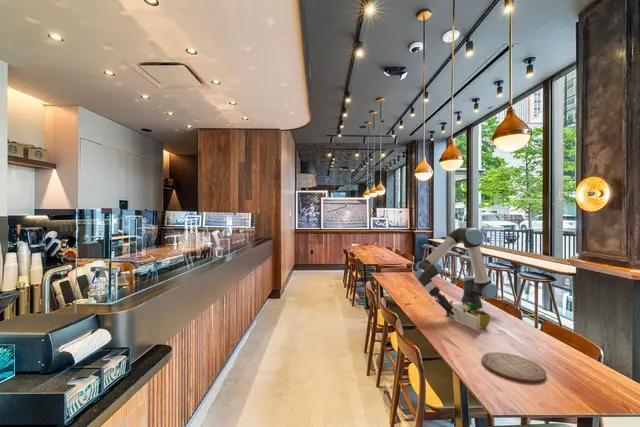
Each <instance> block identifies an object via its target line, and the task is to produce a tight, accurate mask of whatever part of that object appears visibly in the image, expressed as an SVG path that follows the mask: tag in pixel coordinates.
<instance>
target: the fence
mask: <svg viewBox="0 0 640 427" xmlns="http://www.w3.org/2000/svg"><path fill="white" fill-rule="evenodd" d="M449 302H450V304H451V306H452V307H453V302H454V301H453V300H449ZM452 309H453V308H452ZM464 309H466V312H467V308H464ZM449 318H450V319H453V320H454V318H453V316H452V315H451V314H450V315H449ZM463 325H464V326H467V327H469V328H470V329H472V330H473V331H475V332H476V334H478V335H480V334H481V328H480V315H477V317H475V316H473V315H471V314H469V313H466V325H465V324H463Z"/></svg>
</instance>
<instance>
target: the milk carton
mask: <svg viewBox="0 0 640 427" xmlns="http://www.w3.org/2000/svg"><path fill="white" fill-rule="evenodd" d="M448 302H449V303H450V301H448ZM453 306H455V307H457V308H459V309H461V310H463V309H464V308H467V313H469V314H471V311H470V310H473V311H479V310H478V309H479V308H477V305H476V304H473V303H468V302H461V301H456V302H454V301H453ZM445 312H446V314H447V315H448V316H450V313H449V311H448V312H447V311H446V310H445Z"/></svg>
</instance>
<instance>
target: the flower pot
mask: <svg viewBox="0 0 640 427" xmlns="http://www.w3.org/2000/svg"><path fill="white" fill-rule="evenodd" d="M470 311H471V315H473V316H475V317H477V315H480V329H486V328H487V327H488V325H489V323H490V319H491V315H490V314H489V313H487V312H486V311H484V310H478V311H473V310H470Z"/></svg>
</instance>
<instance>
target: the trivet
mask: <svg viewBox="0 0 640 427" xmlns="http://www.w3.org/2000/svg"><path fill="white" fill-rule="evenodd" d="M481 363H482V365H483V366H484V367H485V369H487V371H490V372H491V373H492V374H495V375H497V376H498V377H501V378H504V379H505V380H510V381H513V382H518V383H524V384H541V383H543V382H545V381H546V379H547V371H546V370H545V368H543V366H541V365H540V364H539V363H537V362H534V361H533V360H531V359H529V358H526V357H523V356H520V355H516V354H513V353H507V352H496V351H494V352H493V351H492V352H487V353H485V354H483V355H482V357H481Z"/></svg>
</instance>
